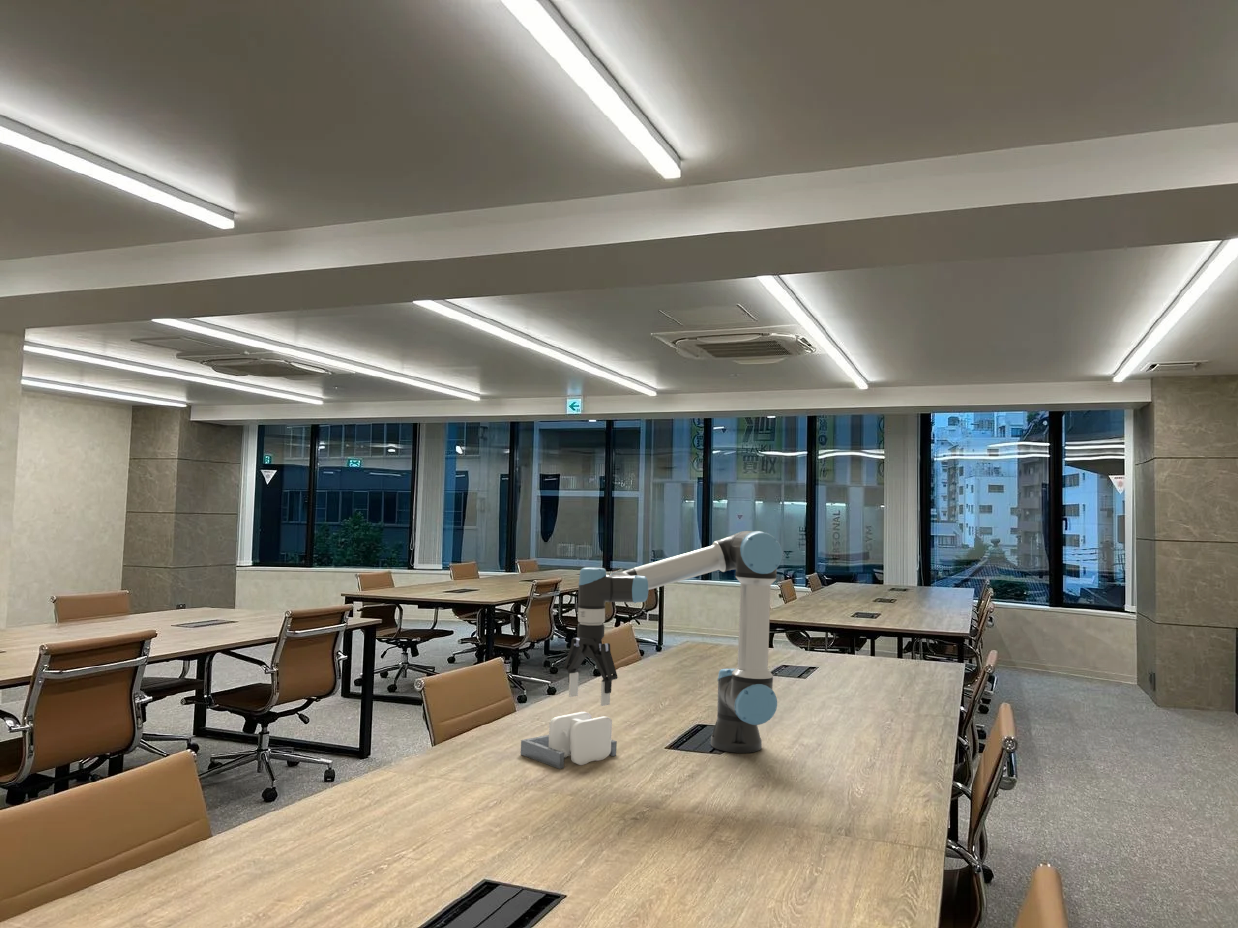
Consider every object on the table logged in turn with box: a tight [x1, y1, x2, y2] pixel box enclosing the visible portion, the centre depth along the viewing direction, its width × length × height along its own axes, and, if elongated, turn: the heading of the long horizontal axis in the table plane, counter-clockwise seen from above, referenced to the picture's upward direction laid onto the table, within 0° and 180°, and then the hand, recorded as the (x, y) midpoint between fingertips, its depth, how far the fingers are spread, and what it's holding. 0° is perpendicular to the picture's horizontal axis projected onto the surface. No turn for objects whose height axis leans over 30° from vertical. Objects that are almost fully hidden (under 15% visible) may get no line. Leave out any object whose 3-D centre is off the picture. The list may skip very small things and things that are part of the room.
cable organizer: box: [548, 711, 613, 766], centre depth 234 cm, size 15×11×12 cm
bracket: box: [520, 734, 618, 770], centre depth 237 cm, size 17×21×4 cm
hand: (588, 700), depth 233 cm, fingers open, 13 cm apart
